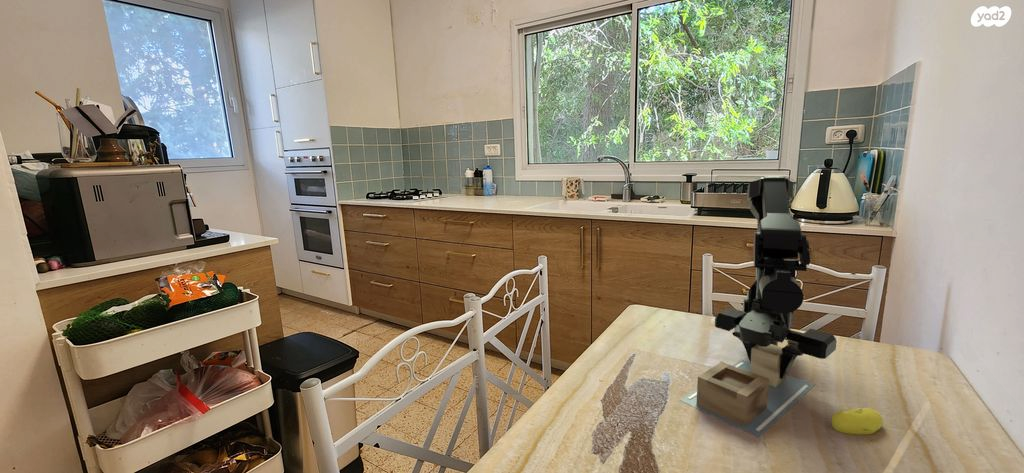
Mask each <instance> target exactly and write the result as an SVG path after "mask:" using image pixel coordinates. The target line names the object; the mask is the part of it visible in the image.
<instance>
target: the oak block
mask: <svg viewBox="0 0 1024 473" xmlns="http://www.w3.org/2000/svg"><path fill="white" fill-rule="evenodd" d="M782 348H784V346H783V347H782V346H779V345H778V346H776V345H773V344H770V345H769V346H767V347H762V346H759V345H758V344H757V345H756V346H754V347H753V348H752V350H751V363H750V372H751V373H754V374H757V375H759V376H762V377H765V378H768V379H769V385H771V386H774V387H776V386H777V385H778V384H780V383H781V382H782V381H783V380H784V379H785V377H786V375H787V374H786V375H785V377H784V378H783V379H780V367H781V362H782V357H783V353H782Z"/></svg>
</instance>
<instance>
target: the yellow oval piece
mask: <svg viewBox="0 0 1024 473" xmlns="http://www.w3.org/2000/svg"><path fill="white" fill-rule="evenodd" d="M883 424H884V420H883V417H882V415H881V414H880V413H879V412H878V411H876V410H875V409H872V408H868V407H862V408H849V409H843V410H838V411H835V413H833V414H832V416H831V426H832V427H833V429H834V430H836V431H838V432H840V433H843V434H850V435H852V434H853V435H872V434H875V433H876V432H877V431H879V430H880V429H881V428H882V427H883Z"/></svg>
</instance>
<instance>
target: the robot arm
mask: <svg viewBox="0 0 1024 473" xmlns="http://www.w3.org/2000/svg"><path fill="white" fill-rule="evenodd" d="M746 194H747V195H746V196H747V200H746V201H747V202H749V204H750V206H749V209H750V210H749V211H750V212H751V213H752V215H753V216H754V218H755V219H756V221H757V224H756V226H757V227H756V228H757V229H756V231H755V232H754V234H753V247H752V248H753V249H752V250H753V267H754V268H755V281H754V282H753V283H752V285H751V286H749V289H748V291H747V295H746V298H743V302H742V308H741V310H740V309H735V308H731V307H728V308H726V309H725V310H722V311H721V312H719V313H717V314H716V315H715V318H714V327H715V328H717V329H721V330H723V331H727V332H730V331H732V330H734V331H733V332H732V333H731V334H732V336H734V337H736V338H738V340H740V342H741V343H742V345H743V347H744V350H745V351H746V355H747V357H748V360H749V361H748V362H750V363H751V350H752V348H753V347H754V346H756V345H757V344H758V345H759V346H762V347H767V346H769V345H770V344H773V345H776V346H779V343H781V344H782V343H783V342H785V341H787V344H786V345H785V346H783V348H782V353H783V357H782V362H781V367H780V379H783V378H784V377H785V375H787V373H788V372H789V370H790V368H791V367H792V365H793V364H794V362H795V360H796V359H797V358H798V356H799V357H800V356H803V355H807V356H811V357H813V358H817V359H821V360H823V359H824V360H825V359H827V358H828V357H829V356H830V355H832V354H833V353H834V352H835V351H836V349H837V338H836V337H835V335H834V334H833V333H830V332H829V333H828V332H825V331H822V330H818V329H814V328H808V330H806V331H805V332H801V331H796V330H792V329H791V327H793V325H794V324H793V323H794V320H793V316H794V312H796V311H797V310H798V309H799V308H800V307H801V306H802V304H803V302H804V293H803V289H802V288H801V286H800V284H799V283H798V280H797V278H796V271H797V272H798V271H800V272H807V267H808V266H810V264H811V254H810V252H811V251H810V242H809V240H808V239H807V235H806V234H805V233H802V228H801V224H800V222H799V221H798V220H796V219H794V218H792V217H791V212H790V206H789V202H791V201H792V200H793V199H794V182H793V181H792V180H789V177H788V176H784V175H770V176H769V175H767V176H766V175H765V176H763V177H759V179H757V180H753V181H750V182H749V183H748V187H747V193H746ZM798 259H799V260H798Z"/></svg>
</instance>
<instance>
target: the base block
mask: <svg viewBox="0 0 1024 473" xmlns="http://www.w3.org/2000/svg"><path fill="white" fill-rule="evenodd" d="M696 384H697V385H696V387H697V388H696V389H697V403H696V404H697V405H699V406H701V407H703V408H705V409H708V410H710V411H712V412H714V413H716V414H718V415H721V416H723V417H725V418H727V419H729V420H731V421H733V422H736V423H738V424H740V425H742V426H744V427H745V426H746V425H747V424H748V423H749V422H750V421H752V420H753V419H754V418H755V417H756V416H757V415H759V414H760V413H761V412H762V411H763V410H764V409H766V408H767V400H768V388H769V379H768V378H765V377H762V376H759V375H757V374H754V373H751V372H748V371H746V370H743V369H740V368H737V367H735V366H733V365H731V364H729V363H726V362H724V361H721V362H718V363H717V364H716V365H714V366H712V367H711V368H709V369H708V370H706V371H705V372H703V373H701V374H700V375H698V376H697V383H696Z"/></svg>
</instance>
